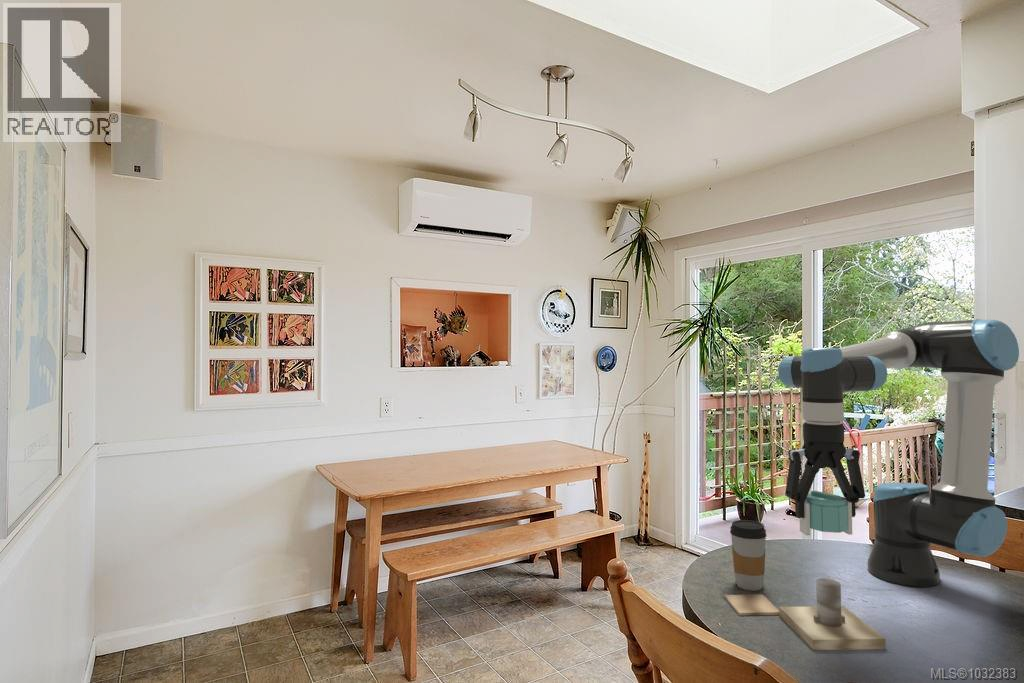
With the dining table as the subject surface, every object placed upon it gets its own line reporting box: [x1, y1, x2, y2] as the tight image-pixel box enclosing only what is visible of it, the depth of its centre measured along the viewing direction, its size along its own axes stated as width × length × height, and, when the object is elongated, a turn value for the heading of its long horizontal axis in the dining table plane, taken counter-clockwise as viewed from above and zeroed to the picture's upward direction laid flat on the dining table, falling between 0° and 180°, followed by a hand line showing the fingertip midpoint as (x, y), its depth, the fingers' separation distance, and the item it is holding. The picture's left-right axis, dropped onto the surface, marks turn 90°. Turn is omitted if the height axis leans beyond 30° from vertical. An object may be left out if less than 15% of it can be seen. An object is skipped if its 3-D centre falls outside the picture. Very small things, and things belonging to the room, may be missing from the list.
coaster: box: [724, 594, 780, 616], centre depth 128 cm, size 9×9×1 cm
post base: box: [778, 578, 887, 651], centre depth 116 cm, size 14×14×10 cm
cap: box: [806, 490, 848, 534], centre depth 117 cm, size 7×7×7 cm
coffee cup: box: [729, 519, 767, 591], centre depth 139 cm, size 8×8×15 cm
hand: (825, 532), depth 117 cm, fingers closed on cap, 8 cm apart
